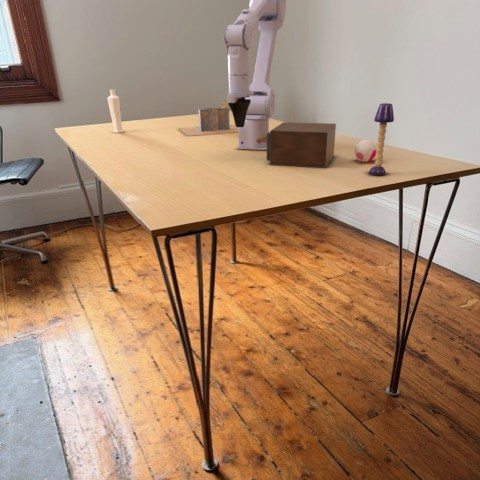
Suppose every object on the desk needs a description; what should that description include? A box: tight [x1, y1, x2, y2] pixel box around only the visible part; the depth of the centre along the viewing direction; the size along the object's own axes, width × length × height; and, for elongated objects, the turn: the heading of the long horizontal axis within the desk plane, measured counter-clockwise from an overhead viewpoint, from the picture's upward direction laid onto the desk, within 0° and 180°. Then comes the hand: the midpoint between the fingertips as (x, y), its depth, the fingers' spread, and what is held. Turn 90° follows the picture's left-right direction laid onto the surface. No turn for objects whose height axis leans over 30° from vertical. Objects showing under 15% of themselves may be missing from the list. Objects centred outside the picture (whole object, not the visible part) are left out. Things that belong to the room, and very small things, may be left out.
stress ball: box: [354, 139, 377, 163], centre depth 136 cm, size 8×8×7 cm
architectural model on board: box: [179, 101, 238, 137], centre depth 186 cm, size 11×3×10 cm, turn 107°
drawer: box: [257, 131, 271, 162], centre depth 139 cm, size 19×13×7 cm
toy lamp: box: [368, 102, 395, 176], centre depth 121 cm, size 5×5×17 cm
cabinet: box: [269, 121, 337, 168], centre depth 138 cm, size 16×15×9 cm
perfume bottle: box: [106, 88, 124, 134], centre depth 185 cm, size 5×4×15 cm
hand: (239, 126), depth 141 cm, fingers closed
